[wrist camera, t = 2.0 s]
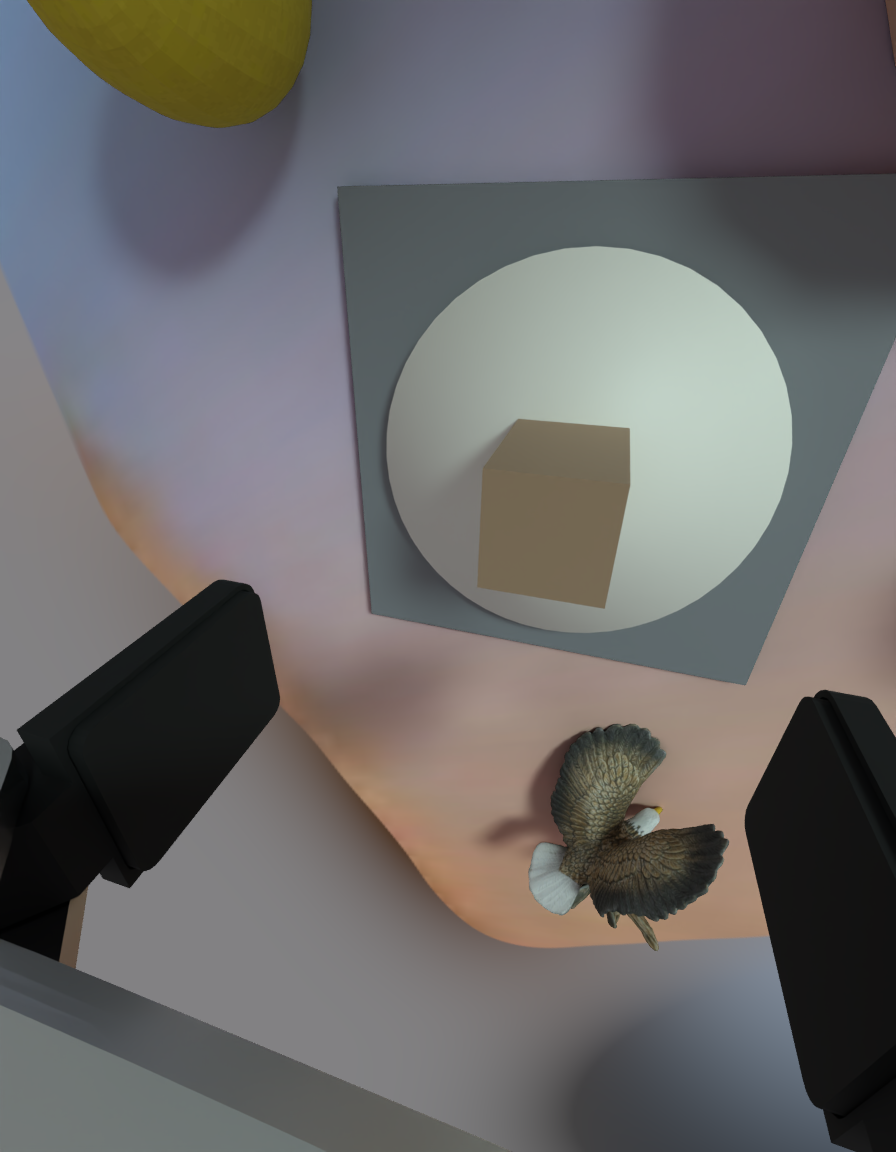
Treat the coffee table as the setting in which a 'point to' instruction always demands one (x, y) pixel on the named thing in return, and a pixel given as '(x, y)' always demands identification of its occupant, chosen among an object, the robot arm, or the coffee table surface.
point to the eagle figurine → (620, 837)
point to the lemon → (188, 52)
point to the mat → (683, 235)
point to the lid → (589, 439)
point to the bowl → (892, 23)
